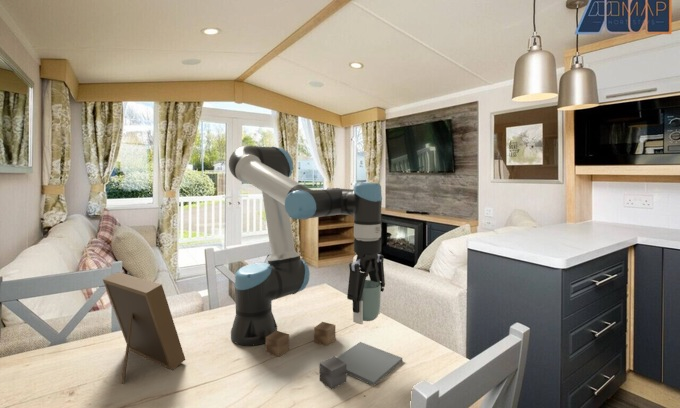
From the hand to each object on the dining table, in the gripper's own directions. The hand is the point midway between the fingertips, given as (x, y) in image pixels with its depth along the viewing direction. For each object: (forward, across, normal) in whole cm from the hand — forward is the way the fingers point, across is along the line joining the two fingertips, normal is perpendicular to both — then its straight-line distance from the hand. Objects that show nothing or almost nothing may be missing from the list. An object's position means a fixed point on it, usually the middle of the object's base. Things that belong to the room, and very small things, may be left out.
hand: (366, 317), depth 98 cm
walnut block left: (+14, +2, +18) cm, 23 cm away
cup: (0, 0, 0) cm, 0 cm away
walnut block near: (+14, -12, +25) cm, 31 cm away
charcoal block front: (+14, -12, +2) cm, 19 cm away
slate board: (+14, 0, 0) cm, 14 cm away
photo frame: (+14, -42, +50) cm, 66 cm away
